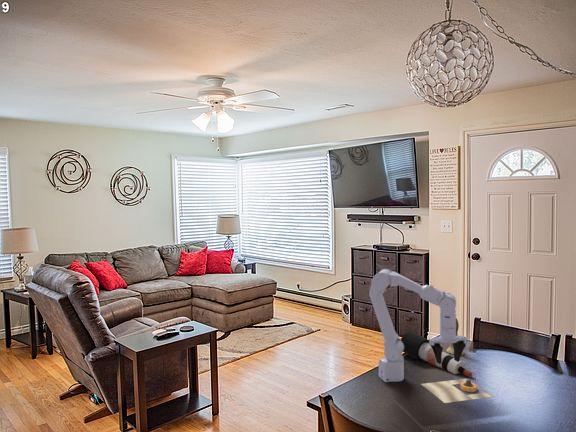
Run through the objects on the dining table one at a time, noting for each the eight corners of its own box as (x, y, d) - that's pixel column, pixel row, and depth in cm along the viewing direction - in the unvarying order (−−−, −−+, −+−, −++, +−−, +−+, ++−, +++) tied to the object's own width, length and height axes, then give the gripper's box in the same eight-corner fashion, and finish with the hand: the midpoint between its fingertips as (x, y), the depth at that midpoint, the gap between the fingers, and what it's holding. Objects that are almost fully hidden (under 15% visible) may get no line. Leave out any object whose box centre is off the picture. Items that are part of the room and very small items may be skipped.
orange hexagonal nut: (466, 395, 159) (466, 388, 159) (457, 389, 164) (457, 382, 164) (479, 394, 160) (479, 387, 160) (470, 387, 165) (470, 381, 165)
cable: (465, 392, 171) (459, 373, 168) (403, 356, 201) (397, 339, 197) (481, 376, 175) (476, 357, 172) (418, 343, 205) (412, 327, 201)
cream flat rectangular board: (444, 406, 151) (444, 393, 151) (420, 387, 166) (420, 375, 166) (494, 399, 155) (494, 387, 155) (466, 381, 171) (466, 370, 171)
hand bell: (468, 355, 199) (468, 320, 199) (450, 355, 199) (450, 321, 198) (460, 348, 208) (460, 315, 207) (443, 349, 207) (443, 316, 207)
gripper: (436, 331, 158) (436, 367, 159) (471, 327, 161) (471, 363, 162) (426, 325, 165) (426, 360, 165) (460, 322, 168) (460, 357, 169)
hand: (447, 361), depth 164 cm, fingers open, 7 cm apart
